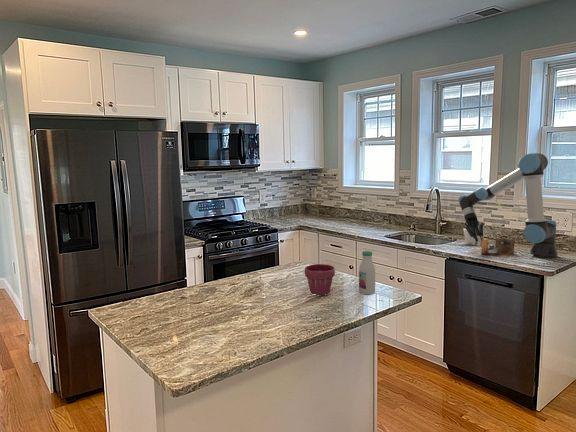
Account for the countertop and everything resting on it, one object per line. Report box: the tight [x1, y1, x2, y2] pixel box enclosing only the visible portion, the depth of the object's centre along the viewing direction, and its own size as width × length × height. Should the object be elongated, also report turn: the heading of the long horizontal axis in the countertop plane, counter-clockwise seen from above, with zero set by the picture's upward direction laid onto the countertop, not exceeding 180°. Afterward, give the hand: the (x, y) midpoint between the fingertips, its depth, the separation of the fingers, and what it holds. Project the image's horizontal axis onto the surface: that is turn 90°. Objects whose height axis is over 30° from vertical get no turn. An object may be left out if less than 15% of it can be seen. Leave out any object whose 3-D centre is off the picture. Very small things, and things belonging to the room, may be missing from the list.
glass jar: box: [475, 221, 486, 244], centre depth 327 cm, size 10×10×14 cm
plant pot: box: [304, 263, 336, 295], centre depth 211 cm, size 14×14×13 cm
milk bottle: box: [358, 250, 376, 295], centre depth 211 cm, size 8×8×20 cm
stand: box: [467, 237, 515, 259], centre depth 283 cm, size 24×17×10 cm
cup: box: [462, 227, 476, 245], centre depth 316 cm, size 10×10×11 cm
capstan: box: [480, 238, 499, 256], centre depth 282 cm, size 11×12×10 cm
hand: (480, 245), depth 282 cm, fingers closed
